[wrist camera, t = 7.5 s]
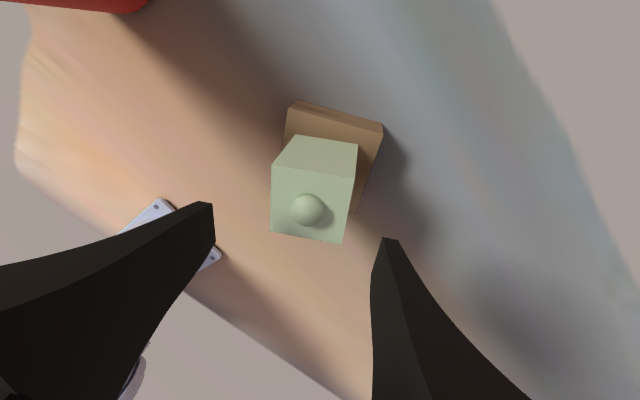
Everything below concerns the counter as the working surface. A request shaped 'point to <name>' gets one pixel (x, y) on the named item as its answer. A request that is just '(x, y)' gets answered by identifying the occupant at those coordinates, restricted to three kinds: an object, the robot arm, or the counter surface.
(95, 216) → the counter surface
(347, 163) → the sage brick
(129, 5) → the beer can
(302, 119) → the walnut block
